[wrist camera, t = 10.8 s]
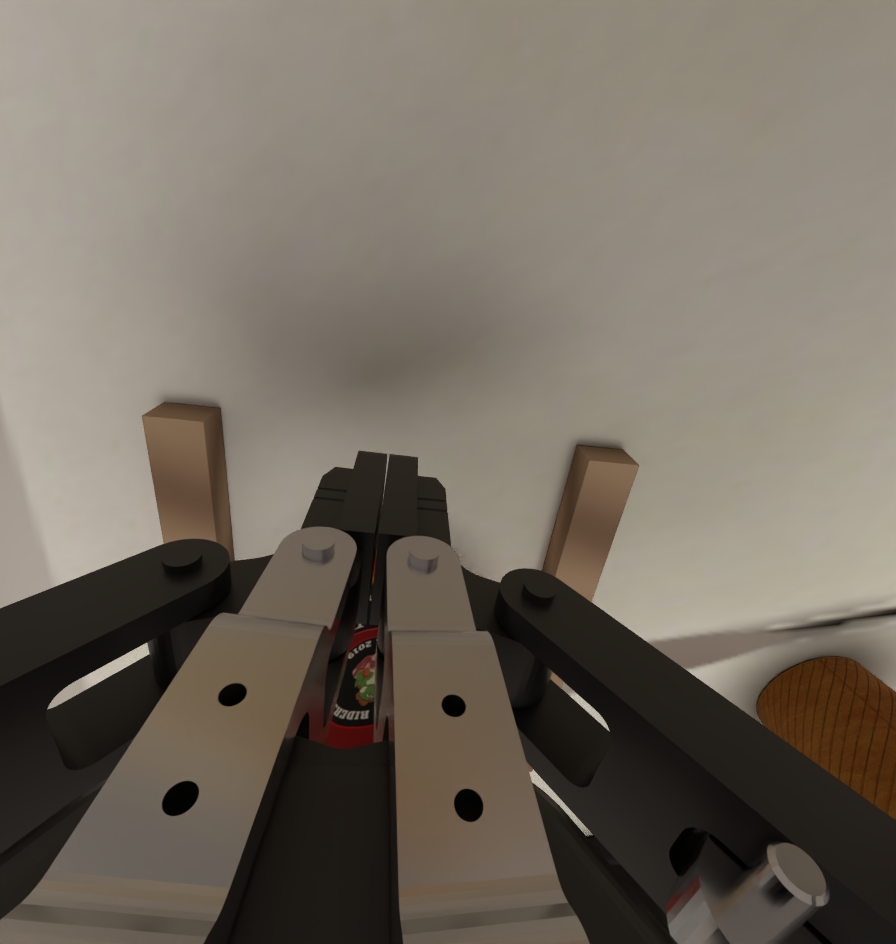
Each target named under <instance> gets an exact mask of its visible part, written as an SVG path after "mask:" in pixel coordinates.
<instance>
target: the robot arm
mask: <svg viewBox="0 0 896 944" xmlns="http://www.w3.org/2000/svg"><path fill="white" fill-rule="evenodd" d="M386 464H387V454H384V453H375V452H366V451H359V452H358V455H357V458H356V462H355V465H354V468H353V469H349V468H340V467H335V468H333V469H332V470H330V471H329V472H328V473H326V474H325V475H323V477H322V479H321V481H320V484H319V486H318V490H317V491H316V493H315V496H314V499H313V501H312V503H311V506H310V508H309V510H308V513H307V515H306V518H305V520H304V523H303V525H302V527H301V529H300V530H297V531H295V532H293V533H291V534H290V535H288V536H287V537H285V538H284V539H283V541H282V542H281V543H280V545H279V547H278V548H277V550H276V552H275V553H274V554H272V555H269V556H265V557H261V558H255V559H247V560H238V561H230V556H229V553H228V551H227V549H226V548H225V547H224V546H222V545H221V544H219V543H217V542H214V541H211V540H207V539H182V540H176V541H172V542H168V543H165V544H162V545H160V546H157V547H155V548H152V549H150V550H147V551H145V552H142V553H139V554H137V555H134V556H132V557H129V558H127V559H124V560H122V561H119V562H117V563H114V564H112V565H109V566H107V567H104V568H101V569H99V570H96V571H94V572H91V573H89V574H86V575H84V576H81V577H79V578H76V579H74V580H71V581H69V582H66V583H64V584H61V585H58V586H56V587H53V588H51V589H48V590H46V591H43V592H41V593H38V594H36V595H33V596H31V597H28V598H26V599H23V600H20V601H18V602H15V603H13V604H11V605H8V606H5V607H3V608H1V609H0V944H896V820H895V819H893V818H892V817H890V816H889V815H888V814H886V813H885V812H883V811H882V810H881V809H879V808H878V807H876V806H875V805H874V804H872V803H871V802H870V801H868V800H867V799H865V798H864V797H863V796H861V795H860V794H858V793H857V792H856V791H854V790H853V789H851V788H850V787H849V786H847V785H846V784H844V783H843V782H842V781H840V780H839V779H837V778H836V777H835V776H833V775H832V774H830V773H829V772H828V771H826V770H825V769H823V768H822V767H821V766H819V765H818V764H816V763H815V762H814V761H812V760H811V759H809V758H808V757H807V756H805V755H804V754H802V753H801V752H800V751H798V750H797V749H795V748H794V747H793V746H791V745H790V744H789V743H787V742H786V741H784V740H783V739H782V738H780V737H779V736H777V735H776V734H775V733H773V732H772V731H770V730H769V729H768V728H766V727H765V726H763V725H762V724H761V723H759V722H758V721H756V720H755V719H754V718H752V717H751V716H749V715H748V714H747V713H745V712H744V711H742V710H741V709H740V708H738V707H737V706H735V705H734V704H733V703H731V702H730V701H728V700H727V699H726V698H724V697H723V696H721V695H720V694H719V693H717V692H716V691H714V690H713V689H712V688H710V687H709V686H708V685H706V684H705V683H703V682H702V681H701V680H699V679H698V678H696V677H695V676H694V675H692V674H691V673H689V672H688V671H687V670H685V669H684V668H682V667H681V666H680V665H678V664H677V663H675V662H674V661H672V660H671V659H670V658H668V657H667V656H666V655H664V654H663V653H661V652H660V651H659V650H657V649H656V648H654V647H653V646H652V645H650V644H649V643H647V642H646V641H645V640H643V639H642V638H640V637H639V636H638V635H636V634H635V633H634V632H632V631H631V630H629V629H628V628H627V627H625V626H624V625H622V624H621V623H620V622H618V621H617V620H615V619H614V618H613V617H611V616H610V615H608V614H607V613H606V612H604V611H603V610H601V609H600V608H599V607H597V606H596V605H594V604H593V603H592V602H590V601H589V600H587V599H586V598H585V597H583V596H582V595H580V594H579V593H578V592H576V591H575V590H573V589H572V588H571V587H569V586H568V585H566V584H565V583H564V582H562V581H561V580H559V579H558V578H556V577H555V576H553V575H551V574H548V573H546V572H543V571H539V570H535V569H517V570H513V571H510V572H509V573H507V574H506V575H505V576H504V577H503V578H502V580H501V583H499V582H496V581H492V580H489V579H486V578H483V577H480V576H478V575H475V574H473V573H471V572H470V571H468V570H466V569H465V568H464V567H462V566H461V564H460V560H459V557H458V555H457V553H456V551H455V550H454V549H453V548H452V547H451V542H450V532H449V522H448V513H447V503H446V491H445V488H444V487H443V486H442V484H441V483H440V482H439V481H438V480H437V478H432V477H423V476H418V457H411V456H402V455H393V454H390V456H389V463H388V470H387V477H386V484H385V474H386ZM384 484H385V491H384ZM383 494H384V499H383ZM382 503H383V506H382ZM376 551H377V554H376ZM375 558H376V564H375ZM374 565H375V574H374V584H373V594H372V604H371V614H370V623H369V625H379V626H378V635H377V645H376V654H375V681H374V740H373V743H371V744H367V745H362V746H358V747H353V748H347V749H339V748H334V747H331V746H328V745H325V744H326V740H327V736H328V732H329V728H330V725H331V721H332V717H333V713H334V710H335V706H336V702H337V698H338V695H339V691H340V687H341V683H342V679H343V676H344V672H345V668H346V664H347V661H348V656H349V646H350V645H351V643H352V640H353V637H354V631H355V625H356V624H366V622H367V615H368V608H369V601H370V594H371V586H372V579H373V572H374ZM145 643H148V648H149V653H150V654H149V655H147V656H146V657H144V658H142V659H140V660H138V661H137V662H135V663H133V664H131V665H129V666H128V667H126V668H124V669H122V670H121V671H119V672H117V673H115V674H113V675H112V676H110V677H108V678H106V679H105V680H103V681H101V682H99V683H97V684H96V685H94V686H92V687H90V688H89V689H87V690H85V691H83V692H81V693H80V694H78V695H76V696H74V697H72V698H71V699H69V700H67V701H65V702H64V703H62V704H60V705H58V706H56V707H54V708H51V709H48V710H47V708H48V706H49V704H50V703H51V701H52V700H53V698H54V697H55V696H56V695H57V694H58V693H59V692H60V691H62V690H63V689H64V688H65V687H67V686H68V685H70V684H71V683H73V682H74V681H76V680H78V679H80V678H82V677H84V676H86V675H88V674H89V673H91V672H93V671H95V670H97V669H99V668H100V667H102V666H104V665H106V664H108V663H110V662H112V661H113V660H115V659H117V658H119V657H121V656H123V655H125V654H126V653H128V652H130V651H132V650H134V649H136V648H137V647H139V646H141V645H143V644H145ZM552 673H555V674H556V675H557V676H558V677H559V678H560V679H561V680H562V681H564V682H565V683H566V684H567V685H568V686H569V687H570V688H572V689H573V690H574V691H575V692H576V693H577V694H578V695H579V696H581V697H582V698H583V699H584V700H585V701H586V702H587V703H588V704H590V705H591V706H592V707H593V708H594V709H595V710H596V711H597V712H598V713H599V714H600V715H601V716H602V717H603V719H604V720H605V722H606V723H607V725H608V728H609V730H610V732H609V731H608V730H607V729H606V728H604V727H603V726H602V725H601V724H600V723H599V722H598V721H597V720H596V719H594V718H593V717H592V716H591V715H590V714H589V713H588V712H587V711H586V710H584V709H583V708H582V707H581V706H580V705H579V704H578V703H577V702H576V701H575V700H573V699H572V698H571V697H570V696H569V695H568V694H567V693H566V692H565V691H563V690H562V689H561V688H560V687H559V686H558V685H557V684H556V683H555V682H553V681H552V680H551V679H550V678H551V676H552ZM526 762H527V763H528V764H529V765H530V766H531V767H532V768H533V769H534V770H535V772H536V773H537V774H538V775H539V776H540V777H541V778H542V779H543V780H544V781H545V782H546V784H547V785H548V786H549V787H550V788H551V789H552V790H553V791H554V792H555V793H556V794H557V796H558V797H559V798H560V799H561V800H562V801H563V802H564V803H565V804H566V805H567V806H568V808H569V809H570V810H571V811H572V812H573V813H574V814H575V815H576V816H577V817H578V818H579V820H580V821H581V822H582V823H583V824H584V825H585V826H586V827H587V828H588V829H589V830H590V832H591V833H592V834H593V835H594V836H595V837H596V838H597V839H598V840H599V841H600V842H601V844H602V845H603V846H604V847H605V848H606V849H607V850H608V851H609V852H610V853H611V855H612V856H613V857H614V858H615V859H616V860H617V861H618V862H619V863H620V864H621V865H622V867H623V868H624V869H625V870H626V871H627V872H628V873H629V874H630V875H631V876H632V877H633V879H634V880H635V881H636V882H637V883H638V884H639V885H640V886H641V887H642V888H643V889H644V891H645V892H646V893H647V894H648V895H649V896H650V897H651V898H652V899H653V900H654V901H655V903H656V904H657V905H658V906H659V907H660V908H661V909H662V910H663V911H664V912H665V913H666V915H667V921H668V928H669V932H670V934H669V933H668V932H667V930H666V929H665V928H664V927H663V926H662V924H661V923H660V922H659V921H658V920H657V919H656V917H655V916H654V915H653V914H652V913H651V912H650V910H649V909H648V908H647V907H646V906H645V905H644V903H643V902H642V901H641V900H640V899H639V898H638V896H637V895H636V894H635V893H634V892H633V891H632V889H631V888H630V887H629V886H628V885H627V884H626V882H625V881H624V880H623V879H622V878H621V877H620V875H619V874H618V873H617V872H616V871H615V870H614V868H613V867H612V866H611V865H610V864H609V863H608V861H607V860H606V859H605V858H604V857H603V856H602V854H601V853H600V852H599V851H598V850H597V849H596V847H595V846H594V845H593V844H592V843H591V842H590V840H589V839H588V838H587V837H586V836H585V835H584V833H583V832H582V831H581V830H580V829H579V828H578V826H577V825H576V824H575V823H574V822H573V821H572V819H571V818H570V817H569V816H568V815H567V814H566V813H565V811H564V810H563V809H562V808H561V807H560V806H559V805H558V804H557V803H556V802H555V801H554V800H553V799H552V798H551V797H549V796H548V795H547V794H546V793H545V792H544V791H543V790H541V789H540V788H539V787H537V786H536V785H535V784H534V783H532V781H531V777H530V774H529V770H528V766H527V763H526Z"/></svg>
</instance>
